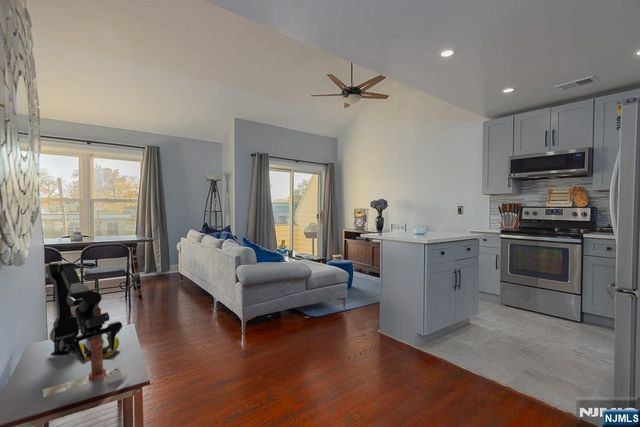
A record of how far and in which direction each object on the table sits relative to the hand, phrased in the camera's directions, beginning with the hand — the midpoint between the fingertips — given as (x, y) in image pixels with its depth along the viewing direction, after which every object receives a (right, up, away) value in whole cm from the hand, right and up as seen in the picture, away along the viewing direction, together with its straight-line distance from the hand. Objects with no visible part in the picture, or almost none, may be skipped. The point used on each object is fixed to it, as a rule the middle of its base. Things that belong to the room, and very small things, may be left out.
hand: (98, 355), depth 111 cm
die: (+5, -10, 0) cm, 11 cm away
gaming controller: (-14, -9, +18) cm, 24 cm away
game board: (-7, -9, -1) cm, 12 cm away
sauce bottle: (-27, -8, +33) cm, 43 cm away
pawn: (-1, -8, +1) cm, 8 cm away
